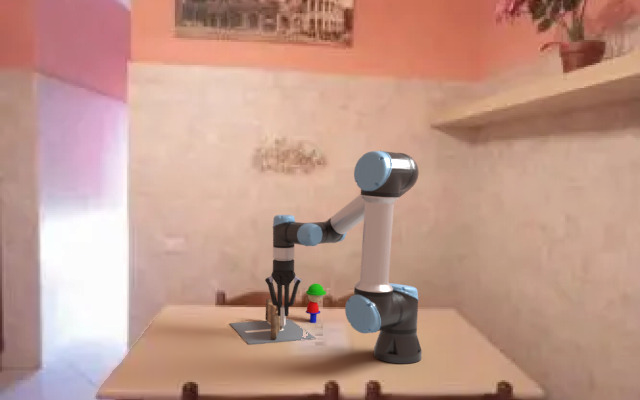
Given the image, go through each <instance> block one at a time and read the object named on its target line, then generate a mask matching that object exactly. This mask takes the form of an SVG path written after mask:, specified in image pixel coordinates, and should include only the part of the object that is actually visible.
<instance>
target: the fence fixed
mask: <svg viewBox="0 0 640 400" xmlns="http://www.w3.org/2000/svg"><path fill="white" fill-rule="evenodd" d="M277 310H278V307H277V306H275V305H273V304H272V300H271V298H266V299H265V321H269V322H270V323H271V315H275V313H276V311H277ZM280 320H281V316H280ZM280 330H282V326H280Z"/></svg>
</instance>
